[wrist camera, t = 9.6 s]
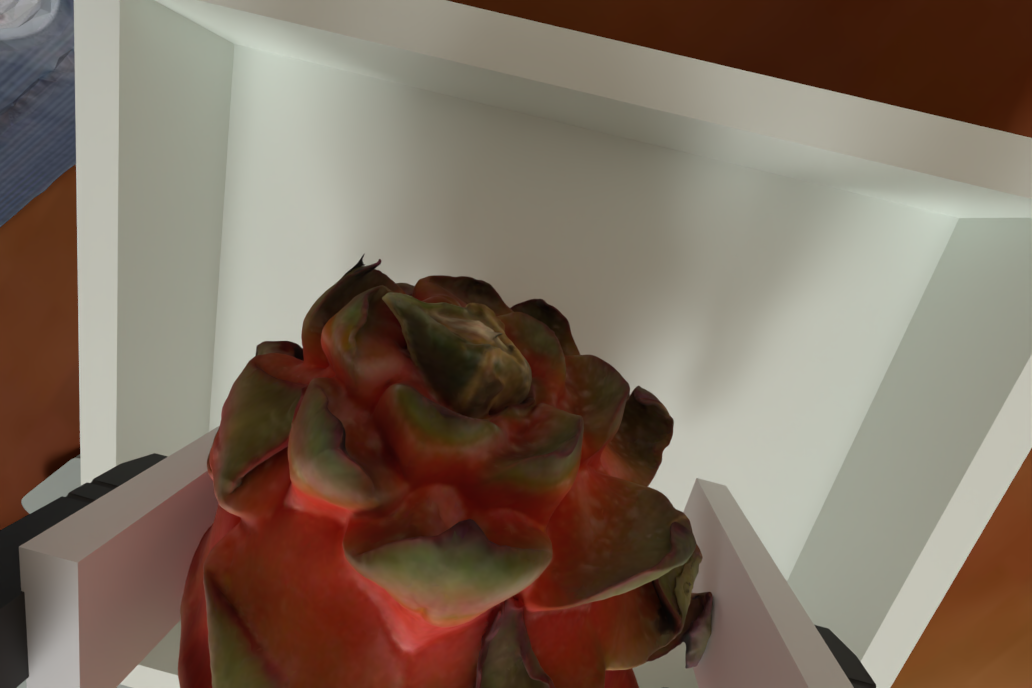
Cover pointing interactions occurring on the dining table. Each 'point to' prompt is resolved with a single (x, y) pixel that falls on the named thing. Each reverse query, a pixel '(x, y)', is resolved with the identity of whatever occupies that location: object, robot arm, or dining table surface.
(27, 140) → the vhs cassette tape
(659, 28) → the dining table surface
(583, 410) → the dragon fruit
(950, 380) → the tray
